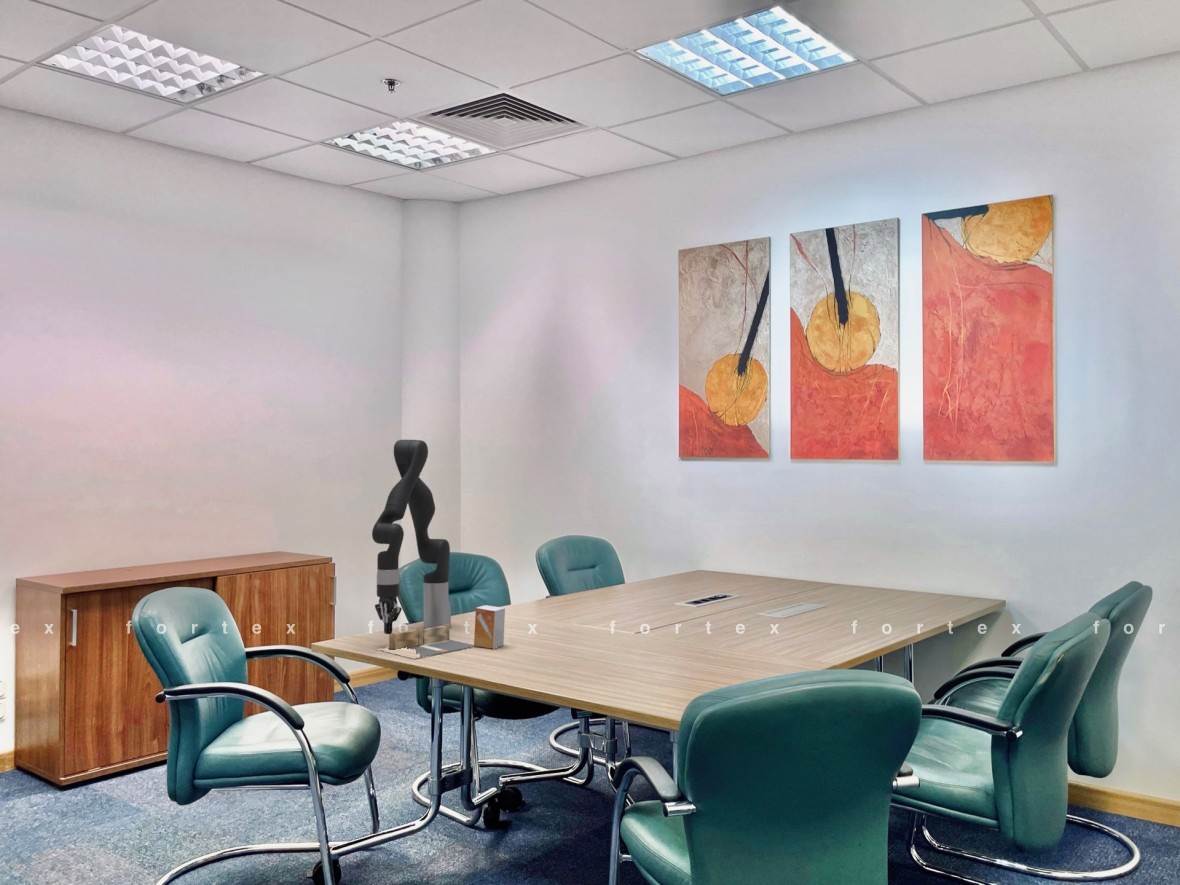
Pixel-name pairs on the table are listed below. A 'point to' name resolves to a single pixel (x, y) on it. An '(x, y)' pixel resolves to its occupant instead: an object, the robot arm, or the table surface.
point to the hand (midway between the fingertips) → (388, 633)
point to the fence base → (433, 635)
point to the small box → (489, 626)
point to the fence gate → (403, 640)
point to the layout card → (440, 647)
